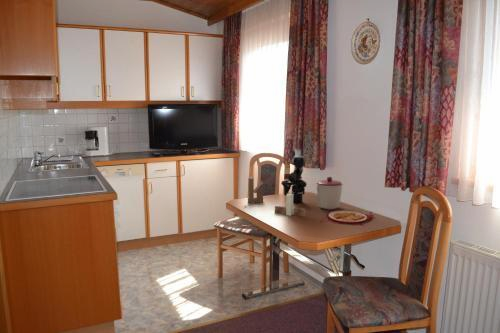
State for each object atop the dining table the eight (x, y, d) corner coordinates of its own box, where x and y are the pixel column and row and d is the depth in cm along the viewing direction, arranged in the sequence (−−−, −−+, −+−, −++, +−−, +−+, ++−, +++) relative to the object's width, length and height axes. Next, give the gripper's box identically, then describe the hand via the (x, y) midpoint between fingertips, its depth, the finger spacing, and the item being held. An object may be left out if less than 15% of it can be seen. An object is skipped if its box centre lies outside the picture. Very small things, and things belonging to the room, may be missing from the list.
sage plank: (288, 213, 258) (288, 193, 256) (293, 214, 256) (293, 193, 255) (286, 215, 254) (286, 194, 252) (290, 215, 253) (290, 195, 251)
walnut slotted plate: (274, 212, 259) (274, 206, 259) (275, 212, 261) (275, 205, 260) (304, 216, 250) (304, 209, 249) (305, 216, 251) (305, 209, 251)
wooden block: (263, 202, 289) (263, 177, 286) (249, 203, 284) (249, 178, 282) (261, 200, 292) (260, 176, 290) (247, 202, 288) (247, 177, 285)
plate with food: (331, 213, 262) (331, 207, 261) (373, 216, 250) (373, 211, 250) (320, 223, 240) (320, 217, 240) (365, 228, 228) (366, 221, 228)
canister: (319, 203, 284) (319, 173, 281) (345, 206, 276) (346, 175, 273) (311, 209, 268) (312, 177, 265) (339, 212, 260) (340, 179, 257)
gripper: (279, 169, 272) (271, 189, 267) (299, 167, 257) (291, 189, 252) (290, 177, 278) (283, 197, 272) (310, 175, 263) (302, 197, 257)
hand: (289, 195), depth 263 cm, fingers open, 9 cm apart
